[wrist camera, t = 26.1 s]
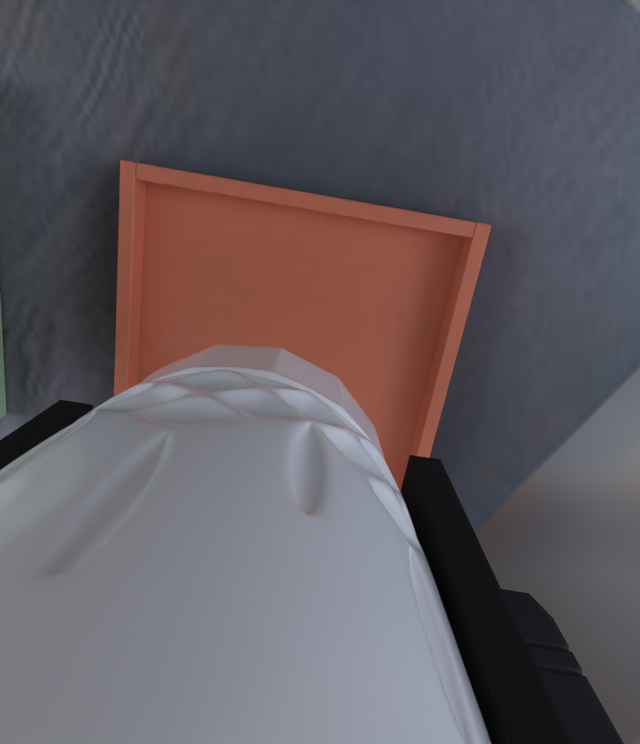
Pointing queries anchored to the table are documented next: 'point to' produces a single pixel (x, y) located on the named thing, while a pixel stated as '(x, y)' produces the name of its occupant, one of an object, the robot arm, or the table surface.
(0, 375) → the sage tray
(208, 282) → the terracotta tray
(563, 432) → the table surface
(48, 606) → the white cup
